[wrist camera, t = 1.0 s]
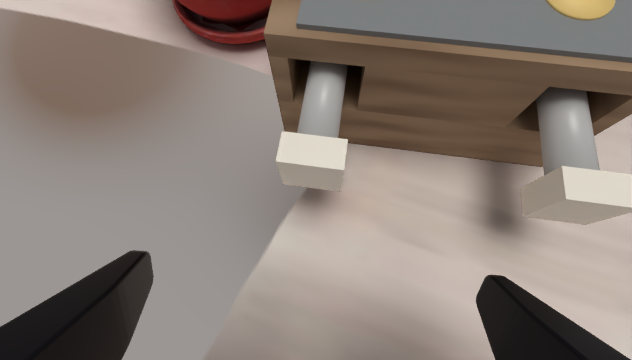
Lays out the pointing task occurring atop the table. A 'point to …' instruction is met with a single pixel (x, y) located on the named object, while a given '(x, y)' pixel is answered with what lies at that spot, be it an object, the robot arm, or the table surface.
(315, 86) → the button
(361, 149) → the table surface
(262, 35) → the plant pot
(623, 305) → the table surface
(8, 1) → the table surface
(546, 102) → the button
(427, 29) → the card
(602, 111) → the button box
